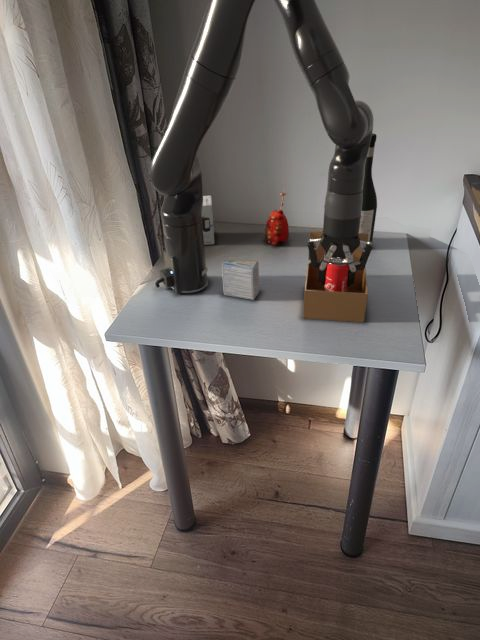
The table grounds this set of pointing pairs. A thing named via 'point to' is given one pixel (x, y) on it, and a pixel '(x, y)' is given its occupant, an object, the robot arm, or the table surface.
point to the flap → (321, 251)
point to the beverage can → (336, 275)
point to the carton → (335, 298)
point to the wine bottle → (368, 196)
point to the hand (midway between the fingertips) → (336, 283)
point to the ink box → (207, 221)
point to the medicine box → (240, 277)
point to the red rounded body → (277, 227)
